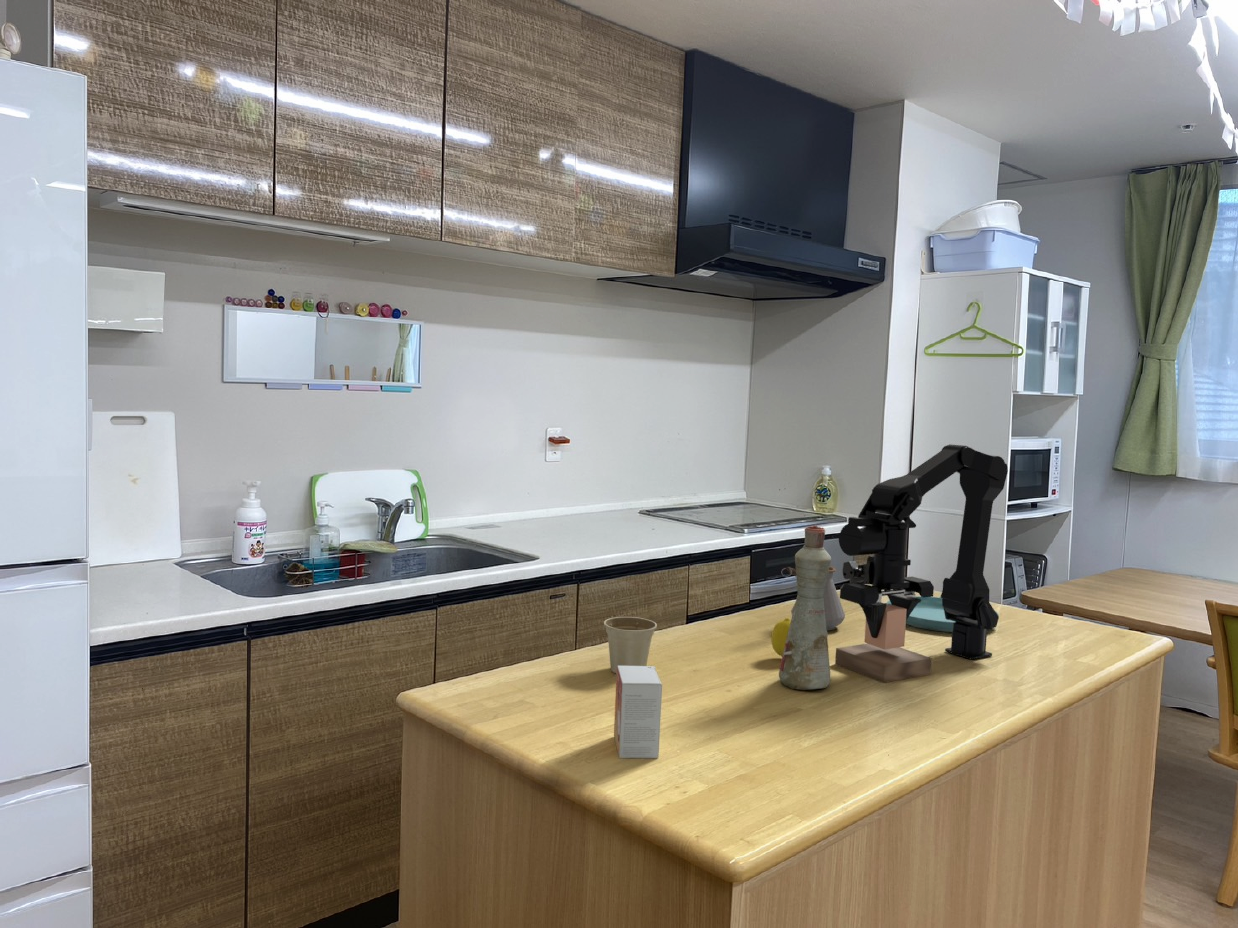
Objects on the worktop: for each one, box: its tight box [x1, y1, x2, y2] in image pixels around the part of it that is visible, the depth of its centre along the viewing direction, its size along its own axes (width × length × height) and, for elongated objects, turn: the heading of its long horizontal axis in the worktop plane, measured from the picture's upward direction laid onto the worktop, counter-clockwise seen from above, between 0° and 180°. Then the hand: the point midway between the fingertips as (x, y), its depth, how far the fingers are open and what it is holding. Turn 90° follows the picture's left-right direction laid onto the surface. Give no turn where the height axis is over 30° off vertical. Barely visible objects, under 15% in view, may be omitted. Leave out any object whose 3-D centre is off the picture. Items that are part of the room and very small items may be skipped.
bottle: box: [778, 524, 832, 691], centre depth 155 cm, size 9×9×28 cm
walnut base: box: [834, 643, 933, 683], centre depth 167 cm, size 12×12×3 cm
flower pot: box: [603, 616, 658, 675], centre depth 160 cm, size 9×9×9 cm
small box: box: [613, 665, 663, 759], centre depth 126 cm, size 8×6×10 cm
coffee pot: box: [781, 566, 846, 631], centre depth 193 cm, size 21×12×15 cm, turn 141°
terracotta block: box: [864, 602, 907, 649], centre depth 167 cm, size 5×5×7 cm
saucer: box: [886, 595, 1000, 633], centre depth 206 cm, size 24×24×3 cm
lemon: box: [771, 617, 791, 658], centre depth 171 cm, size 6×6×8 cm
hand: (884, 636), depth 167 cm, fingers closed on terracotta block, 5 cm apart
